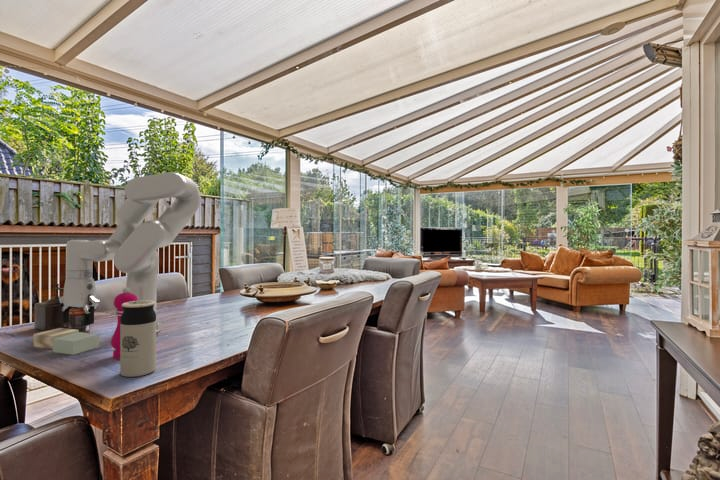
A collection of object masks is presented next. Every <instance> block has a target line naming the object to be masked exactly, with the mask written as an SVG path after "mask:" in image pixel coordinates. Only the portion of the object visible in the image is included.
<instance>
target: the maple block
mask: <svg viewBox="0 0 720 480" xmlns="http://www.w3.org/2000/svg"><path fill="white" fill-rule="evenodd" d="M78 332H79V330H75V329H69V328H58V329H53V330H49V331H40V332H37V333H33V347H34V348H40V349H49V350H53V339H54V338H58V337H62V336H66V335H70V334H74V333H78Z"/></svg>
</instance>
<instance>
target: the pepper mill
mask: <svg viewBox="0 0 720 480" xmlns="http://www.w3.org/2000/svg"><path fill="white" fill-rule="evenodd" d="M129 291H130V290H129V288H126V287H124V288H122V293H119V294H118V295H116V296H115V298H114V300H113V306H114V307H115V308H116V310H115V312H116V314H115V316H116V317H117V325H116V327H115V330H114V331H113V334H112V336H111V341H110V346H111V347H112V348H114V350H113V351H112V358H113V359H115V360H120V317H121V315H122V314H123V312H124V310H123V306H122V304H123V303H126V302H131V301H138V298H137V296H136V295H134V294H132V293H129Z"/></svg>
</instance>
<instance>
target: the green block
mask: <svg viewBox="0 0 720 480" xmlns="http://www.w3.org/2000/svg"><path fill="white" fill-rule="evenodd" d="M99 347H100V334H99V333H91V332H88V333H83V332H78V333H74V334H70V335H66V336H62V337H58V338H54V339H53V349H52V353H55V354H63V355H65V354H66V355H72V356H75V355H77V354H81V353H83V352H88V351H90V350H93V349H94V350H95V349H97V348H99Z"/></svg>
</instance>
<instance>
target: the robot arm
mask: <svg viewBox="0 0 720 480" xmlns="http://www.w3.org/2000/svg"><path fill="white" fill-rule="evenodd" d="M124 194H125V195H126V199H125V200H124V201H123V203H122V204H121V205H120V206H119V207H118V209H117V210H116V212H115V215H116V218H117V222H118V224H117V226H116V228H115V230H114V231H113V233H112V234H111V236H109V238H108V239H97V240H95V239H94V240H88V239H70V240H68V241H67V242H66V245H65V246H66V247H65V281H64V286H63V289H64V291H63V295H61V296H59V297H60V298H59V301H60V303H61V304H60V306H61V307H62V311H64V312H63V323H66V322H69V310H70V309H71V308H72V307H77V308H83V309H84V311H85V312H86V314H84V325H93V324H95V313H96V312H97V309H98V308H99V305H100V300H99V299H97V291H96V284H95V279H94V278H93V267H94V266H93V265H94V264H93V262H99V263H100V262H106V261H112V260H113V263H114V266H115V268H116V269H117V270H118V271H120V272H121V273H125V274H127V277H126V283H125V284H126V285H125V288H129V290H130V291H129V293H132V294H134V295H136V296H137V298H138V301H142V300H149V301H154V302H155V304H154V307H153V310H154V311H155V313H156V314H157V300H158V299H157V291H158V290H157V289H158V269H159V264H160V257H159V256H160V255H159V253H158V249H159V248H164V247H165V248H166V247H168V246H170V244H171V243H173V242H174V240H175V239H176V237H178V235H180V233H181V231H182V230H183V229H184V228H185V227H186V226H187V223H189V222H190V221H191V219H192V218H193V217H194V215H195V214H196V213H197V211H198V210H199V207H200V205H201V201H202V199H201V197H202V196H201V192H200V190H199V187H198V185H197V183H195V181H194V180H193V179H191V178H190V177H188V176H185V175H183V174H181V173H179V172H173V171H170V172H169V171H168V172H162V173H157V174H150V175H144V176H139V177H134V178H132V179H130V180H129V181H128V182H127V183H126V185H125V186H124ZM167 198H168V199H169V198H175V199H174V201H173V202H172V203H171V204H169V205H168V206H167V208H166V209H165V210H164V211H163V212H162V214H161V215H159V217H158V218H157V219H156V220H147V221H144V220H145V219H146V218H147V216H148V215H149V214H150V212H151V211H152V210H153V209H154V208H155V206H156V205H157V204H158V203H159V201H160V200H161V199H167ZM88 307H89V308H90V309H88ZM159 320H160V318H156V334H157V333H159V332H161V331H162V328H163V327H164V325H165V323H163V322H160V321H159Z"/></svg>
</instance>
